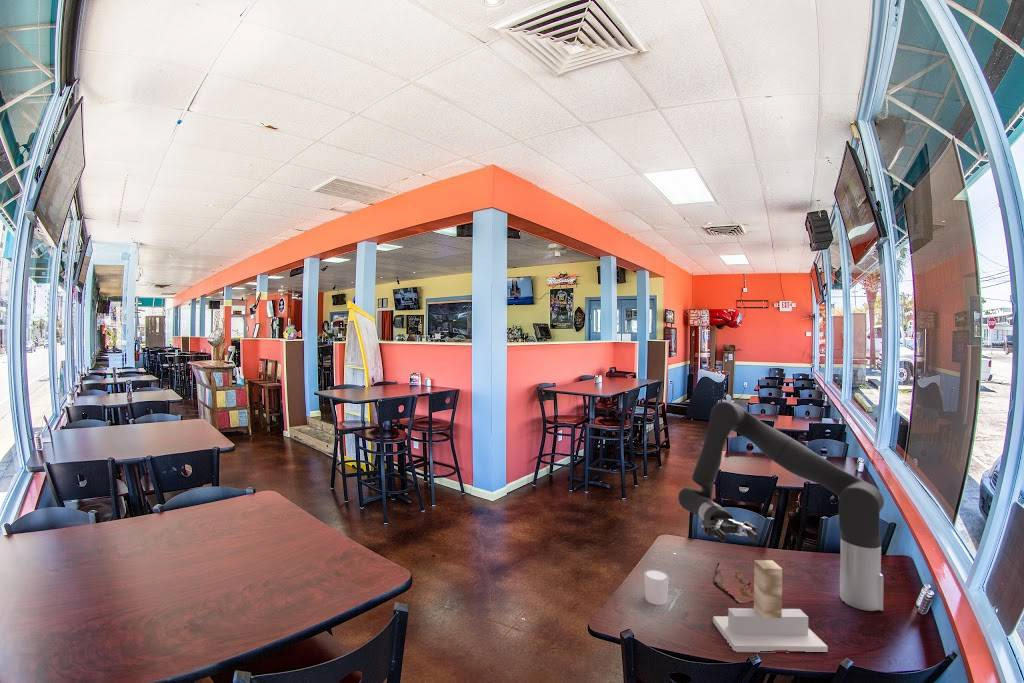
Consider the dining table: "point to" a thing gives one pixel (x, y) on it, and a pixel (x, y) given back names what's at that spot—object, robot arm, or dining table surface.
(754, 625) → the ridge stand
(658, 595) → the white cylinder
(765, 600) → the maple block
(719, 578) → the wooden fragment
